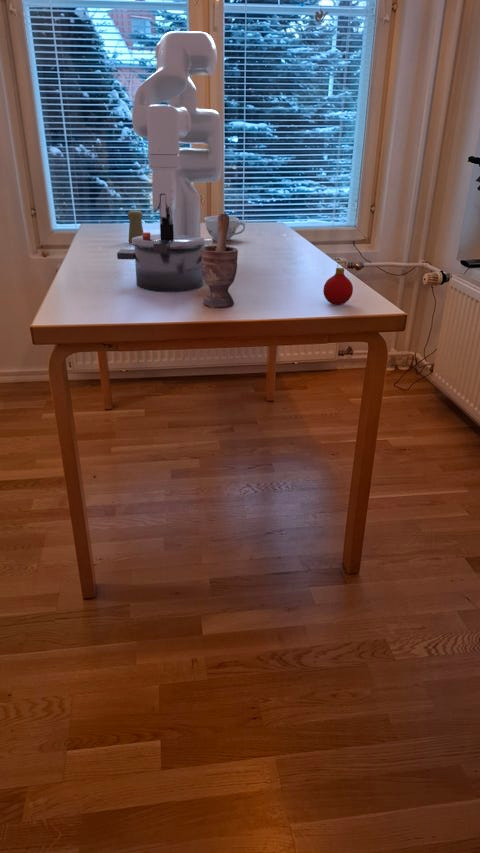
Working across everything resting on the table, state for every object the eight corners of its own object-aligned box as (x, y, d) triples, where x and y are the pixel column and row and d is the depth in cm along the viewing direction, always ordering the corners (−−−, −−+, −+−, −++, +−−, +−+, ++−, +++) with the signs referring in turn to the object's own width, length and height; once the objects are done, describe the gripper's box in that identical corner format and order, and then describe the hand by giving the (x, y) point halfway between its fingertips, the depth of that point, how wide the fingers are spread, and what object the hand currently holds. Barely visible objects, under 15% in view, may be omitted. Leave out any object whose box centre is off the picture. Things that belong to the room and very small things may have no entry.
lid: (139, 238, 161) (138, 227, 160) (207, 239, 161) (207, 229, 160) (120, 251, 139) (120, 239, 138) (199, 253, 139) (199, 241, 138)
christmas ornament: (324, 308, 139) (328, 266, 135) (320, 300, 145) (323, 259, 141) (353, 308, 139) (358, 266, 135) (348, 300, 146) (352, 260, 141)
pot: (128, 273, 167) (126, 237, 162) (221, 275, 167) (221, 239, 162) (114, 290, 150) (111, 251, 145) (217, 293, 149) (217, 253, 145)
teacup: (203, 242, 212) (203, 219, 208) (205, 236, 223) (205, 215, 219) (244, 243, 212) (245, 220, 208) (244, 237, 223) (245, 215, 219)
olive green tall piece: (141, 244, 207) (139, 211, 201) (125, 243, 208) (123, 211, 202) (147, 241, 212) (145, 209, 207) (131, 240, 213) (129, 208, 208)
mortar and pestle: (196, 296, 146) (195, 212, 137) (230, 295, 148) (231, 212, 139) (204, 309, 136) (203, 220, 127) (240, 307, 138) (241, 219, 129)
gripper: (153, 160, 148) (157, 234, 157) (143, 164, 135) (148, 245, 143) (183, 161, 148) (184, 235, 156) (176, 164, 135) (178, 246, 143)
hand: (167, 240), depth 150 cm, fingers closed
